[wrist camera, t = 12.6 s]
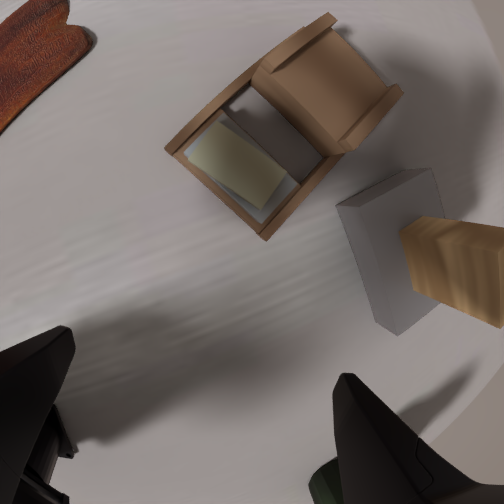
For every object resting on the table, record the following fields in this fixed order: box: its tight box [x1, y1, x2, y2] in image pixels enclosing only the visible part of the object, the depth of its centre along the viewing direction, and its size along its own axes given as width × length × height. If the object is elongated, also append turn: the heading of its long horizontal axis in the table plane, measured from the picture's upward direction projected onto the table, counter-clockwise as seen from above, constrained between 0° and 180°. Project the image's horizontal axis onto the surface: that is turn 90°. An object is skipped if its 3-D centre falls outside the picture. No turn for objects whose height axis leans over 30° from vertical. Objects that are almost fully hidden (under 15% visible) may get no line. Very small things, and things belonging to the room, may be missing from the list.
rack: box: [164, 12, 404, 241], centre depth 16 cm, size 13×8×4 cm, turn 137°
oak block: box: [399, 216, 504, 329], centre depth 15 cm, size 2×5×8 cm, turn 25°
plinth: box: [336, 168, 445, 336], centre depth 20 cm, size 7×10×3 cm
